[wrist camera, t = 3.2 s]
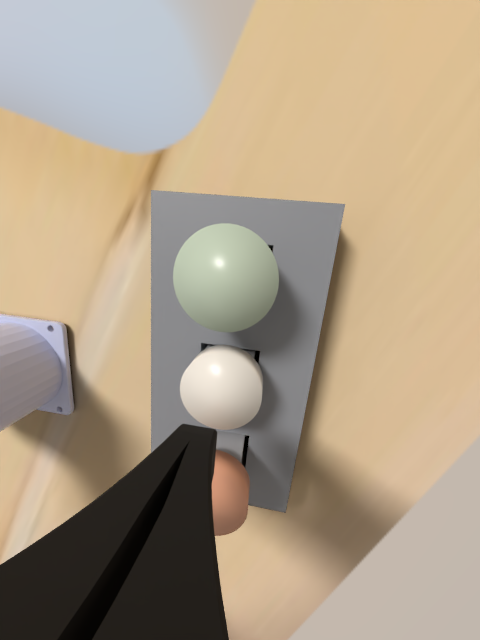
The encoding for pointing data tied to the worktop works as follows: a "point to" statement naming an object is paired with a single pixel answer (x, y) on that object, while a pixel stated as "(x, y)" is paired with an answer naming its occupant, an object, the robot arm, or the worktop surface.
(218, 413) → the cream button
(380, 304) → the worktop surface
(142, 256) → the worktop surface
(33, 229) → the worktop surface
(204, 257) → the sage button
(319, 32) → the worktop surface
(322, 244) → the button panel
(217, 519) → the terracotta button
